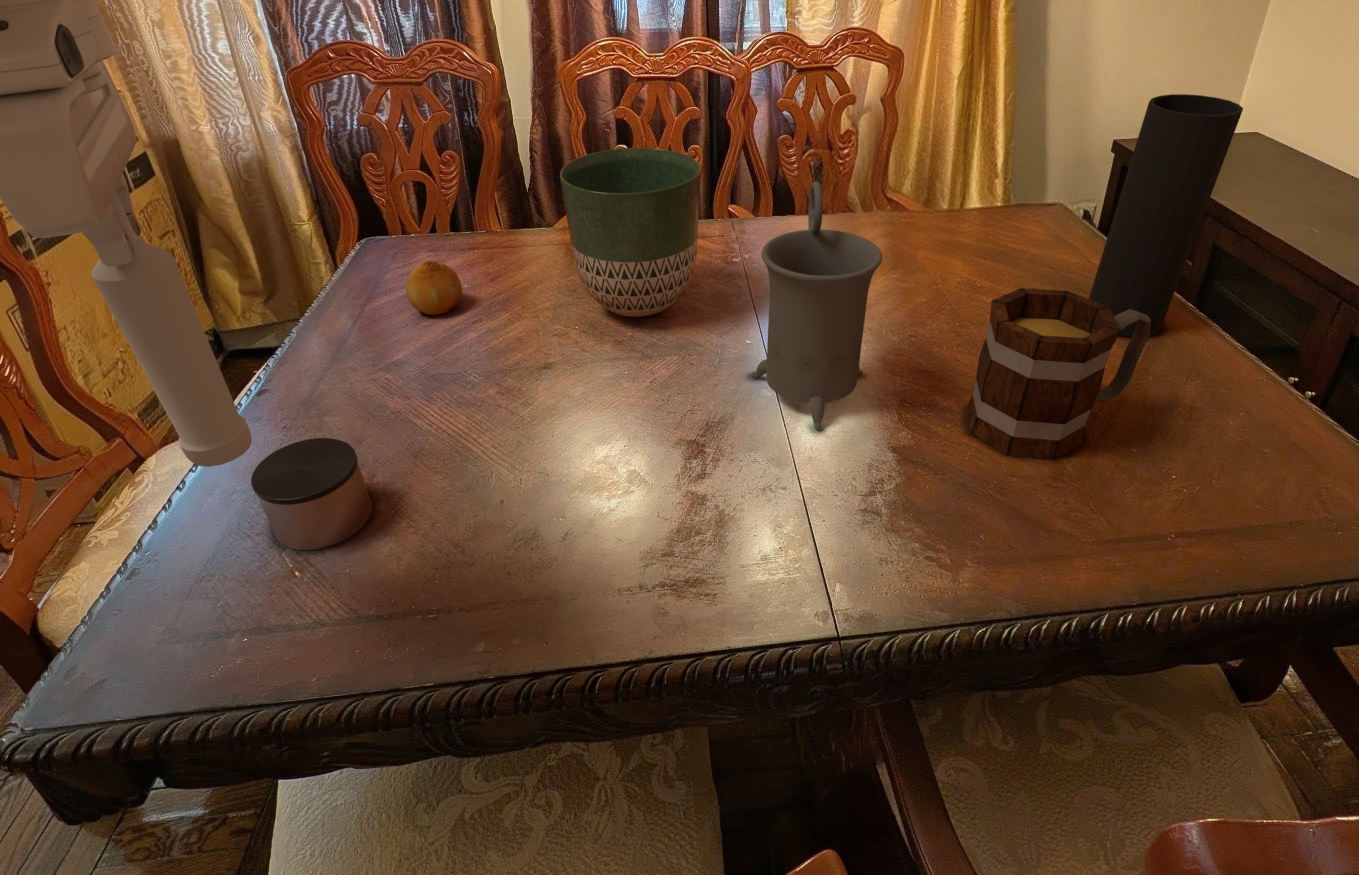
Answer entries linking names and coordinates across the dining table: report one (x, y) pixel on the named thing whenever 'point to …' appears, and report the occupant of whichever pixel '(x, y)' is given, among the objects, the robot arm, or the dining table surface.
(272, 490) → the canister
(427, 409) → the dining table surface
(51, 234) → the robot arm
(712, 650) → the dining table surface
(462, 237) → the dining table surface
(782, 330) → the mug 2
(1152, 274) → the vase
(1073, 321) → the mug
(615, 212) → the planter
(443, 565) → the dining table surface
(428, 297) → the fruit
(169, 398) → the bottle
